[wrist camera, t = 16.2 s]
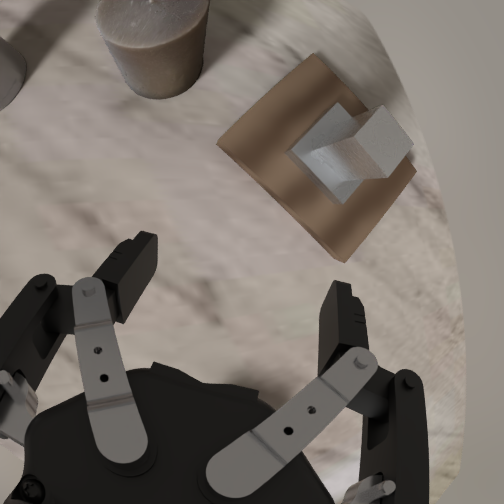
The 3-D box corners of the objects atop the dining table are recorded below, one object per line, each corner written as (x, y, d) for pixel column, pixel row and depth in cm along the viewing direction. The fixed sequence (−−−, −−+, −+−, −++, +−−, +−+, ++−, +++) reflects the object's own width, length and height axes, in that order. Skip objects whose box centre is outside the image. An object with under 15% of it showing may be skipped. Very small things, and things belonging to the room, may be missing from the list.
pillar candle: (219, 59, 33) (237, -14, 18) (164, 116, 33) (148, 62, 18) (161, 20, 30) (153, -56, 16) (106, 74, 30) (67, 11, 16)
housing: (283, 152, 33) (325, 134, 22) (328, 107, 33) (379, 78, 23) (333, 203, 35) (388, 207, 24) (372, 157, 35) (433, 147, 25)
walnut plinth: (216, 144, 35) (218, 139, 32) (304, 61, 35) (313, 53, 32) (334, 258, 40) (344, 263, 37) (403, 172, 40) (416, 171, 37)
